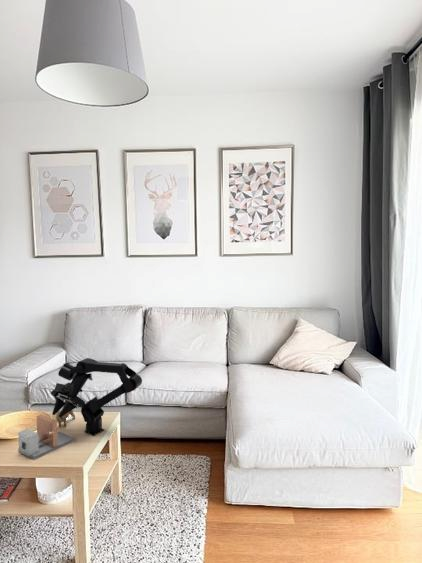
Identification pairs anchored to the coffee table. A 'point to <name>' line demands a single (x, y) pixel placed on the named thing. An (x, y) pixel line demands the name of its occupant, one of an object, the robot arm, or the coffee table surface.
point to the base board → (45, 448)
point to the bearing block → (28, 442)
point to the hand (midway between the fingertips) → (56, 415)
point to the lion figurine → (64, 417)
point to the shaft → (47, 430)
